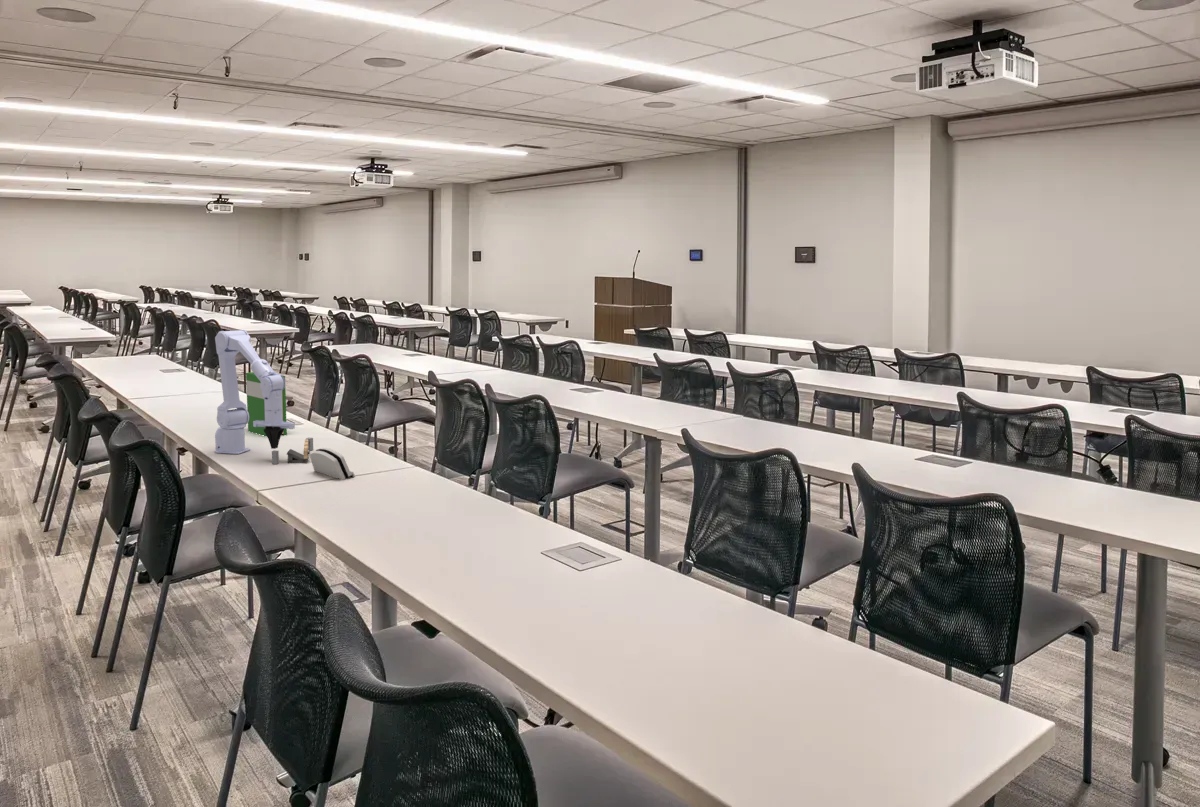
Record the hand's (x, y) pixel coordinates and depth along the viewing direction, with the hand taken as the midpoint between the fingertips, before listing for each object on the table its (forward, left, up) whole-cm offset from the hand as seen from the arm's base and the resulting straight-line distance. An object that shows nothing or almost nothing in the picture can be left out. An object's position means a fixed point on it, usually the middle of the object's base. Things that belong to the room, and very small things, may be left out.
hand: (274, 448), depth 298 cm
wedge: (+9, 0, -4) cm, 10 cm away
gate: (+8, +8, -3) cm, 11 cm away
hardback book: (-29, +43, -5) cm, 52 cm away
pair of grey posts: (+3, +7, -4) cm, 9 cm away
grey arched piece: (+28, -14, -5) cm, 32 cm away
